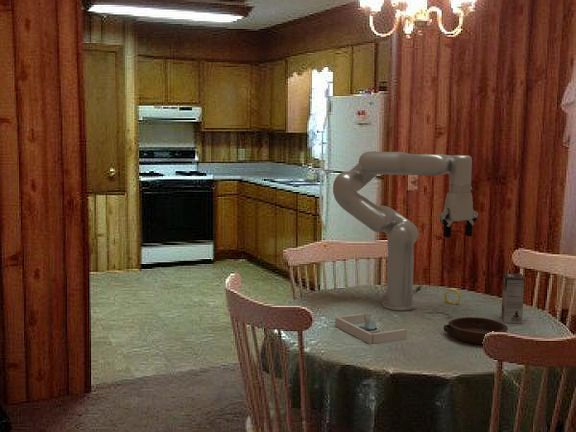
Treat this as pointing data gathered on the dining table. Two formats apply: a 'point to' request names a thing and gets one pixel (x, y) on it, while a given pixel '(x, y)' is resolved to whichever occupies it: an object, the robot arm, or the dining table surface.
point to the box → (371, 338)
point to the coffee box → (512, 298)
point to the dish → (473, 328)
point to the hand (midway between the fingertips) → (457, 236)
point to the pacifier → (369, 324)
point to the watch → (455, 291)
